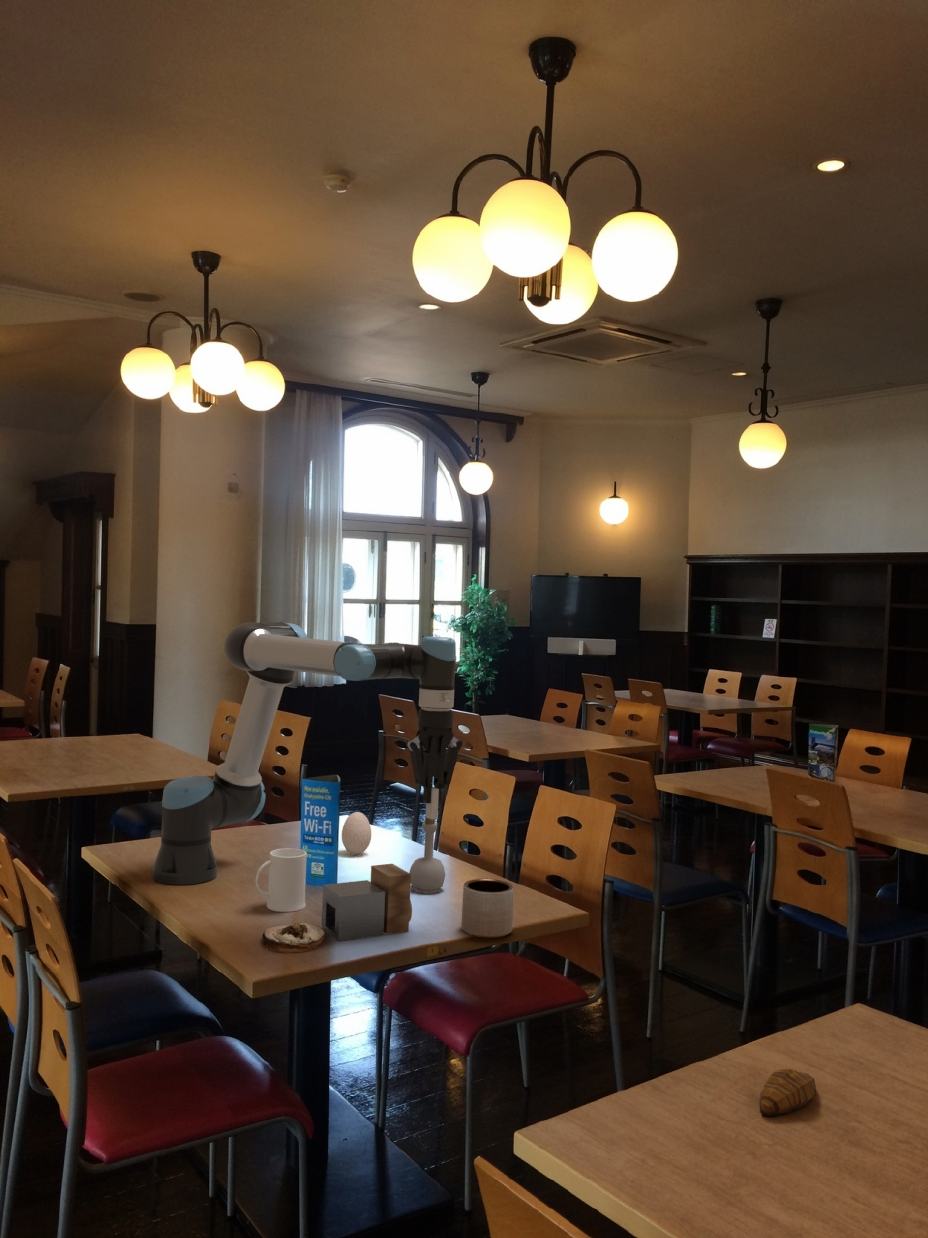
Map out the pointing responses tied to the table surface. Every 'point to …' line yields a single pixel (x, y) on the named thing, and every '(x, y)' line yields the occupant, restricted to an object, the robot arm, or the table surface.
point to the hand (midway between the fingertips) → (431, 817)
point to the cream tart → (293, 937)
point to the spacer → (393, 896)
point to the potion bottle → (427, 864)
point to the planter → (487, 908)
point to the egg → (356, 833)
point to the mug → (285, 880)
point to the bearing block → (353, 910)
